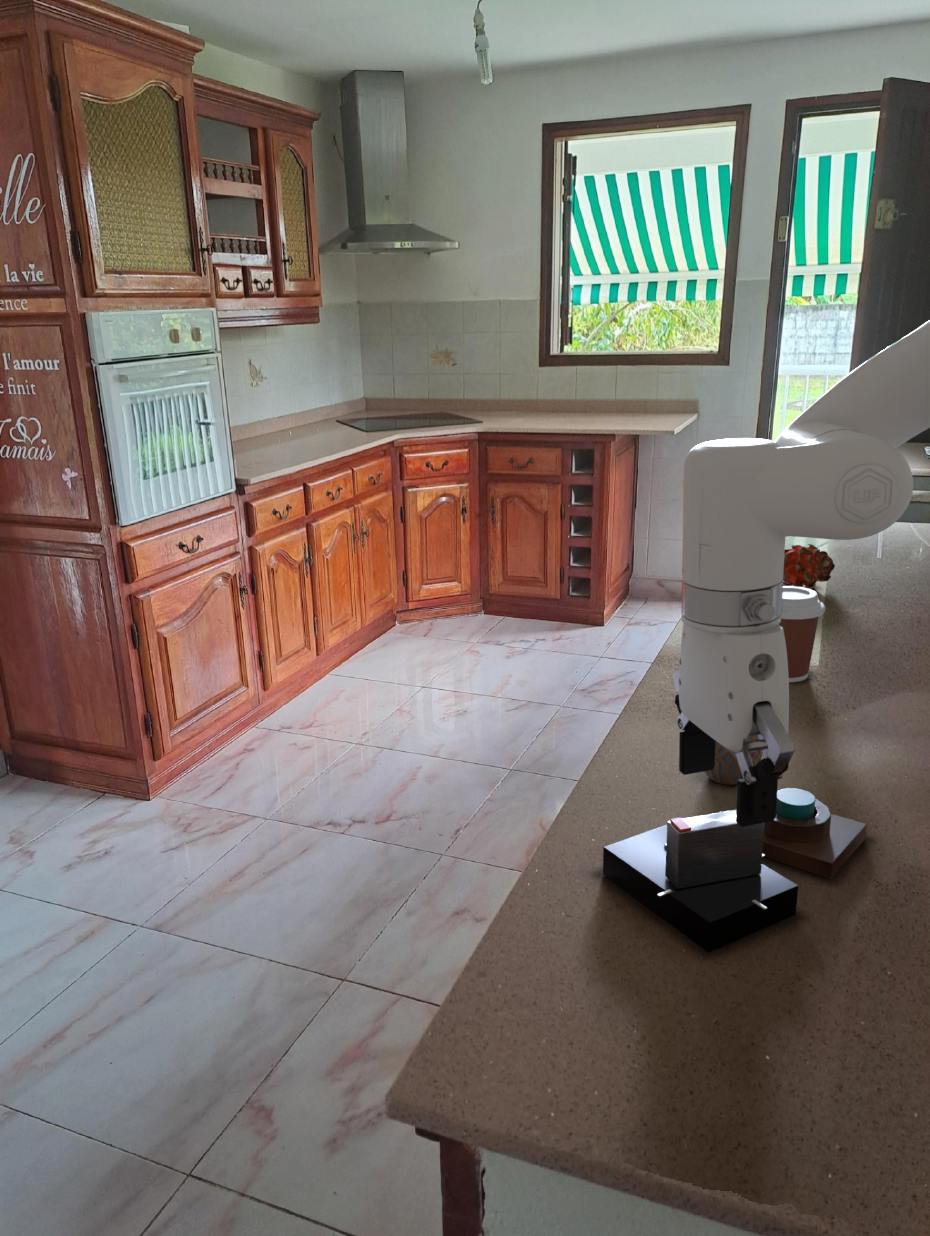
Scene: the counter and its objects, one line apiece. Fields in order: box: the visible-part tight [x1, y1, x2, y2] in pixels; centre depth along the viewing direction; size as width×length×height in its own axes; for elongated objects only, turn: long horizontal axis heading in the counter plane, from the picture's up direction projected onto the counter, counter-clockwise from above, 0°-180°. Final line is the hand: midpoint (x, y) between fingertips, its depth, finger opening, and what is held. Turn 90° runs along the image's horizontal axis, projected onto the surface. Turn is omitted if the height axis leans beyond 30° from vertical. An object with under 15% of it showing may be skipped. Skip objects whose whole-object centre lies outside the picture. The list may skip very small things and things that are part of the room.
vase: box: [703, 734, 763, 786], centre depth 106 cm, size 7×7×9 cm
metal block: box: [665, 809, 765, 889], centre depth 83 cm, size 8×2×6 cm, turn 103°
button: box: [776, 787, 816, 820], centre depth 93 cm, size 4×4×2 cm
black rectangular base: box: [602, 824, 800, 953], centre depth 86 cm, size 15×12×3 cm
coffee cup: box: [779, 585, 826, 683], centre depth 134 cm, size 9×9×12 cm
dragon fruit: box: [783, 543, 836, 589], centre depth 175 cm, size 8×8×12 cm
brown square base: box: [763, 798, 868, 880], centre depth 94 cm, size 11×9×4 cm
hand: (724, 795), depth 81 cm, fingers open, 9 cm apart
